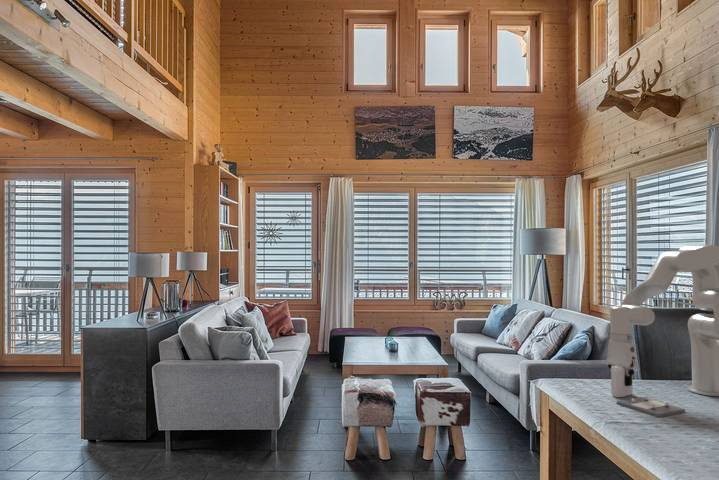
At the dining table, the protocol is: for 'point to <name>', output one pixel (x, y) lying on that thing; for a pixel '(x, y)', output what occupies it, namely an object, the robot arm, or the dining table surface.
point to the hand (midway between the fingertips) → (621, 383)
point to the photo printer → (619, 382)
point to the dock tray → (651, 406)
